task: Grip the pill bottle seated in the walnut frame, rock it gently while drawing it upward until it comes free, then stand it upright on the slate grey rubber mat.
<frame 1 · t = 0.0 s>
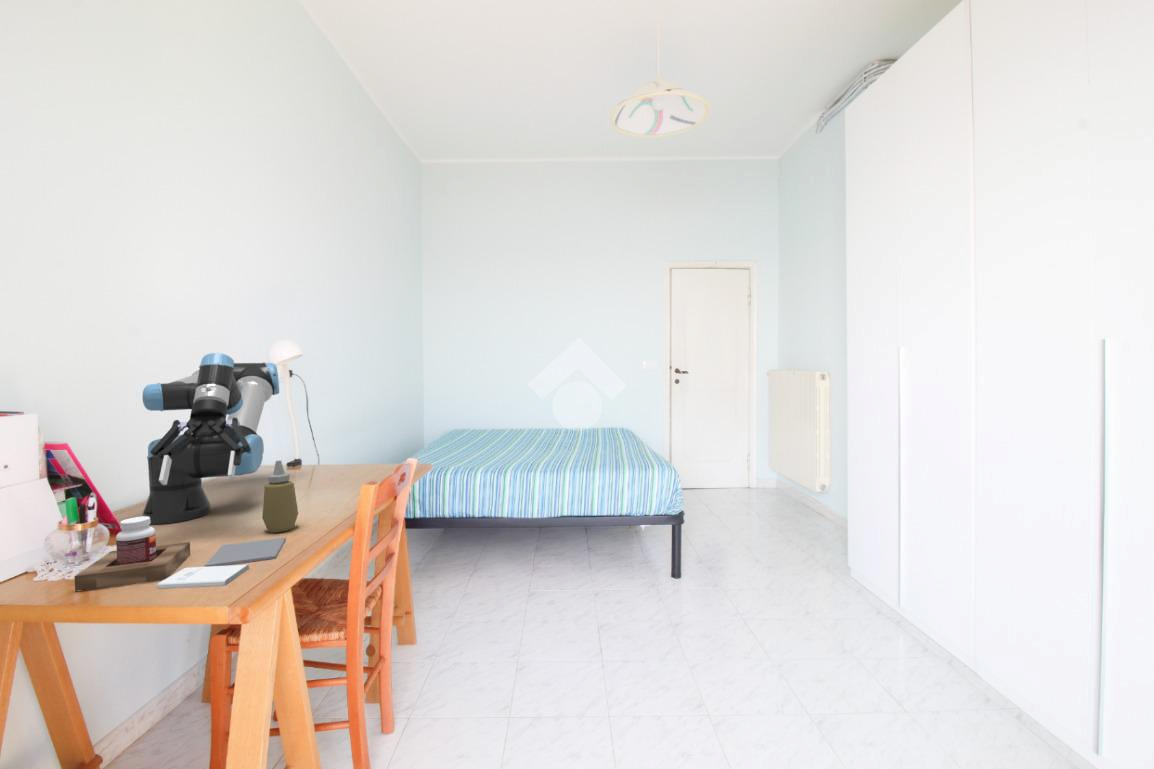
hand: (197, 479, 121), 15 cm above the table, tool tilted 35°, fingers open, 13 cm apart
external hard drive: (205, 581, 101), on the table
walnut frame: (137, 571, 104), on the table
pill bottle: (137, 572, 104), resting in walnut frame
grey mat: (248, 552, 114), on the table
squeeze bottle: (281, 530, 130), on the table
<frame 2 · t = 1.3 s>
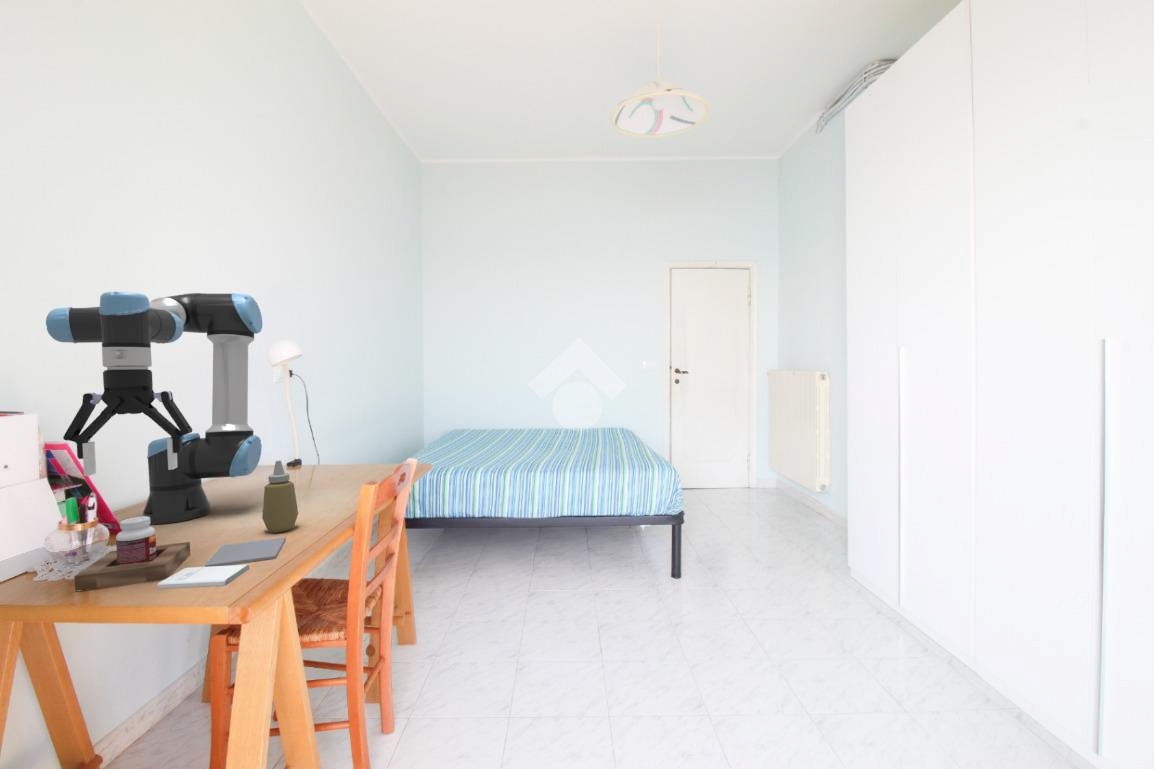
hand: (132, 471, 103), 21 cm above the table, tool pointing down, fingers open, 13 cm apart
nothing on the table moved.
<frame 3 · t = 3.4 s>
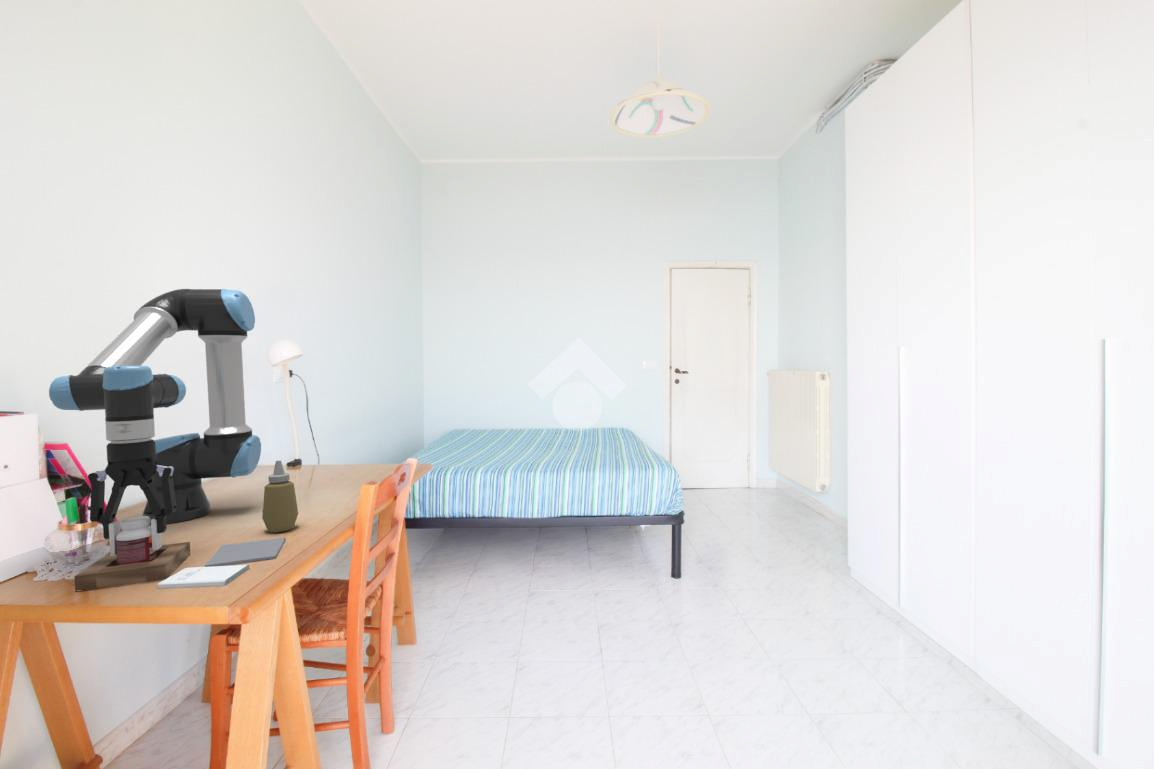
hand: (136, 550, 104), 4 cm above the table, tool pointing down, fingers closed on pill bottle, 6 cm apart
pill bottle: (137, 572, 104), resting in walnut frame, touching gripper
everything else where it was.
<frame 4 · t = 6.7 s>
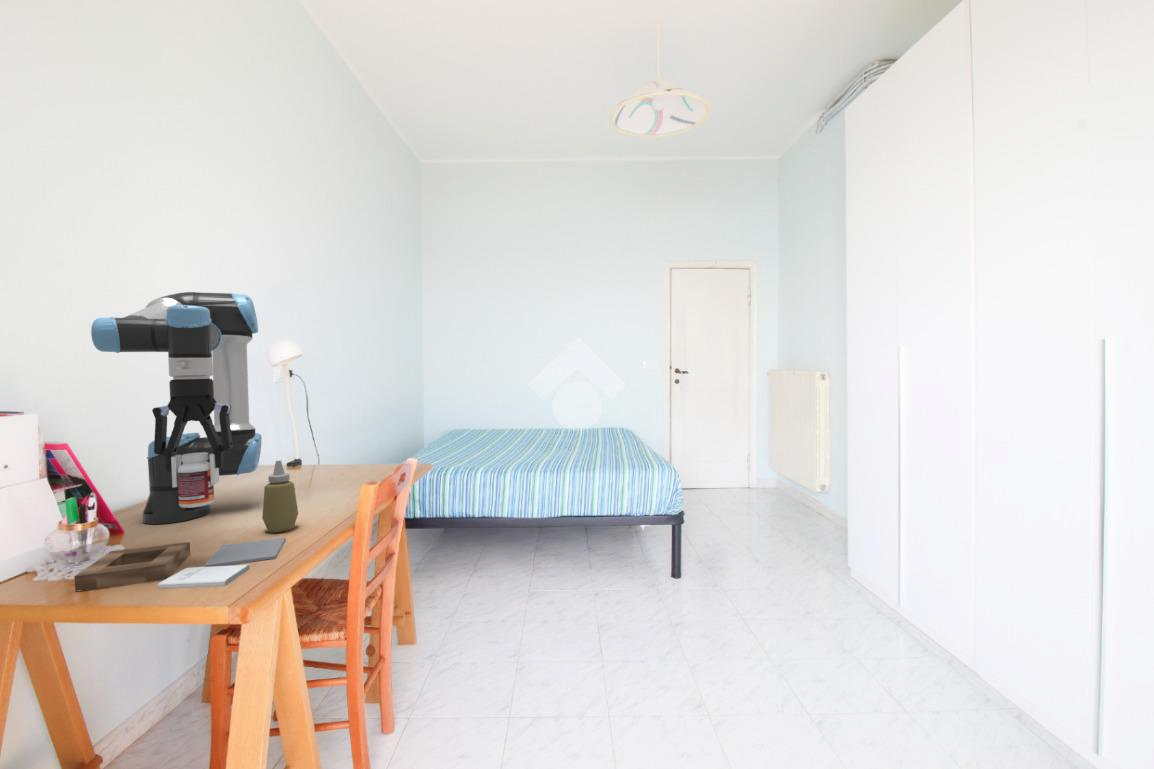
hand: (196, 484, 109), 17 cm above the table, tool pointing down, fingers closed on pill bottle, 6 cm apart
pill bottle: (197, 505, 109), point 12 cm above the table, touching gripper
everything else where it was.
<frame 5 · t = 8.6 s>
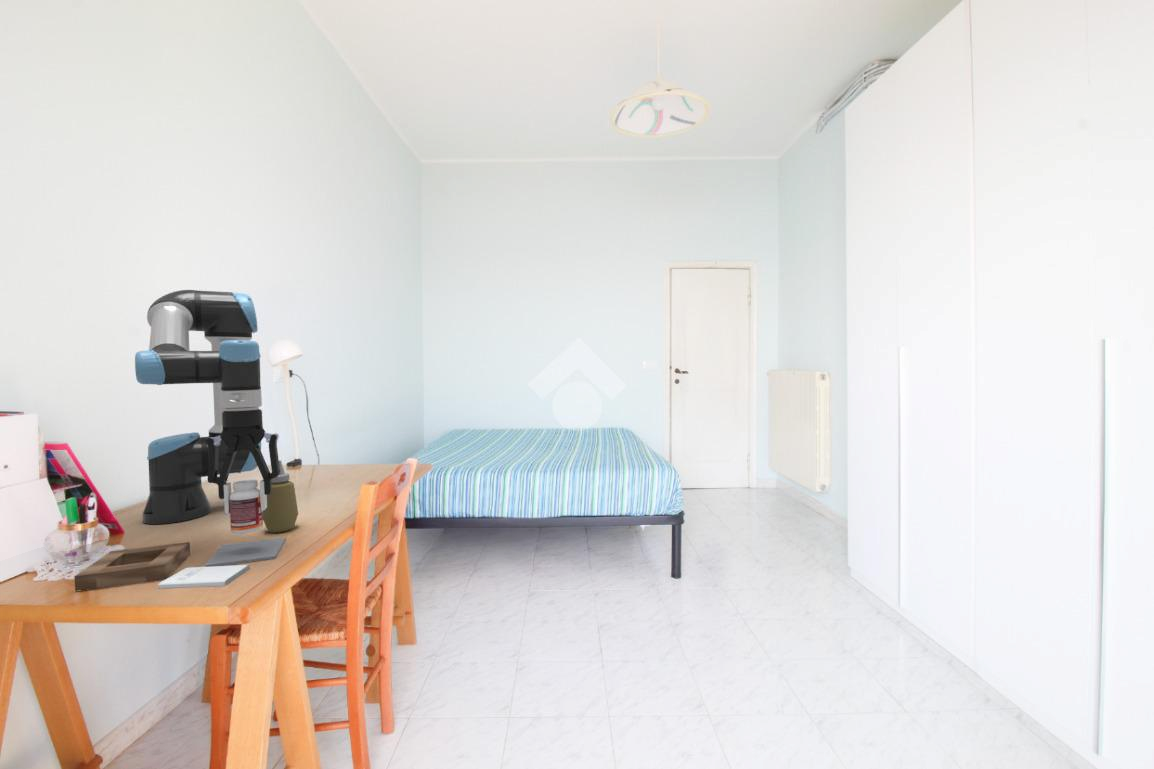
hand: (246, 510, 113), 10 cm above the table, tool pointing down, fingers closed on pill bottle, 6 cm apart
pill bottle: (247, 530, 114), point 5 cm above the table, touching gripper
everything else where it was.
when the fingers open (6 cm above the table, at t = 10.1 s): pill bottle stays where it is, resting on grey mat.
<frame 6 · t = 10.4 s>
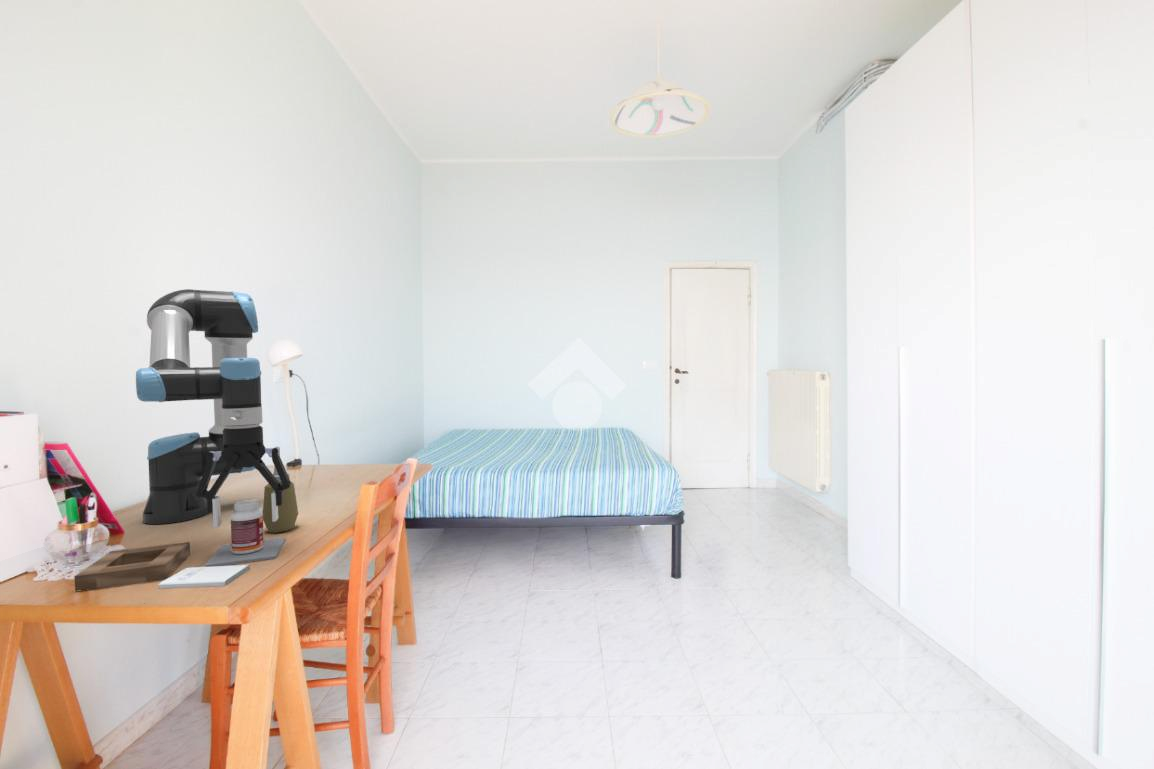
hand: (246, 523, 114), 7 cm above the table, tool pointing down, fingers open, 10 cm apart
pill bottle: (247, 551, 114), resting on grey mat
everything else where it was.
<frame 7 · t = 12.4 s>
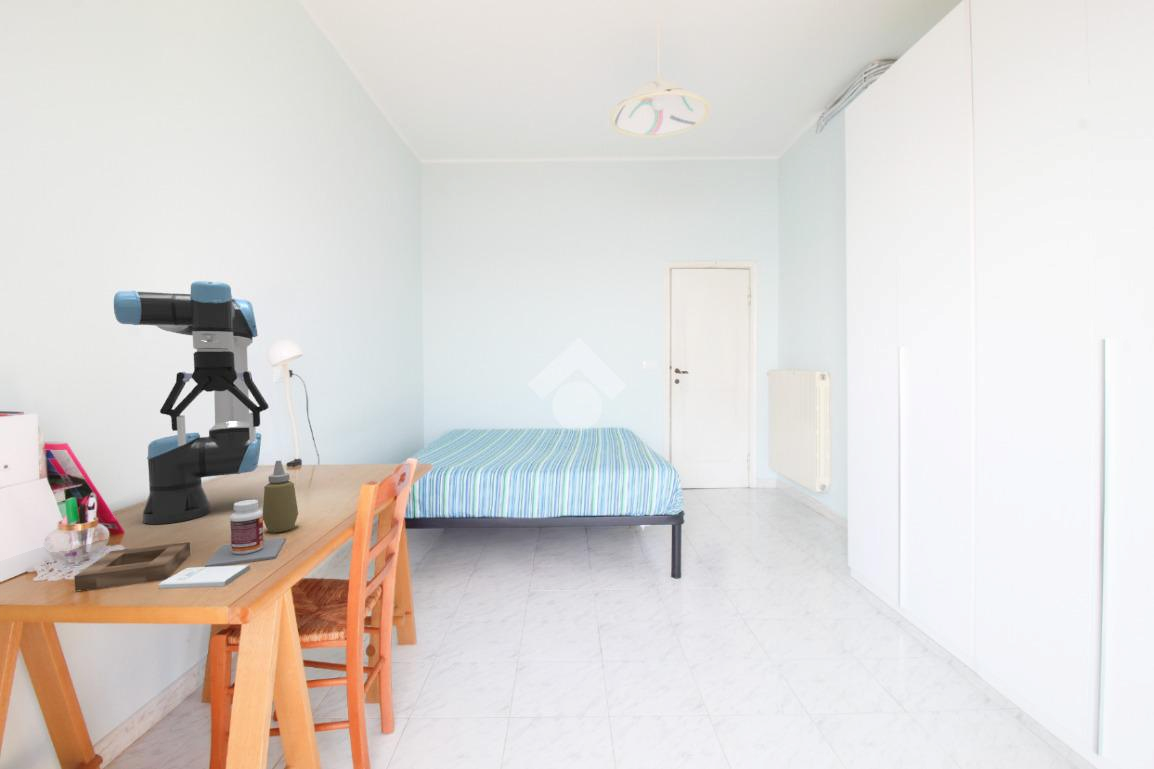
hand: (218, 442, 116), 25 cm above the table, tool pointing down, fingers open, 13 cm apart
nothing on the table moved.
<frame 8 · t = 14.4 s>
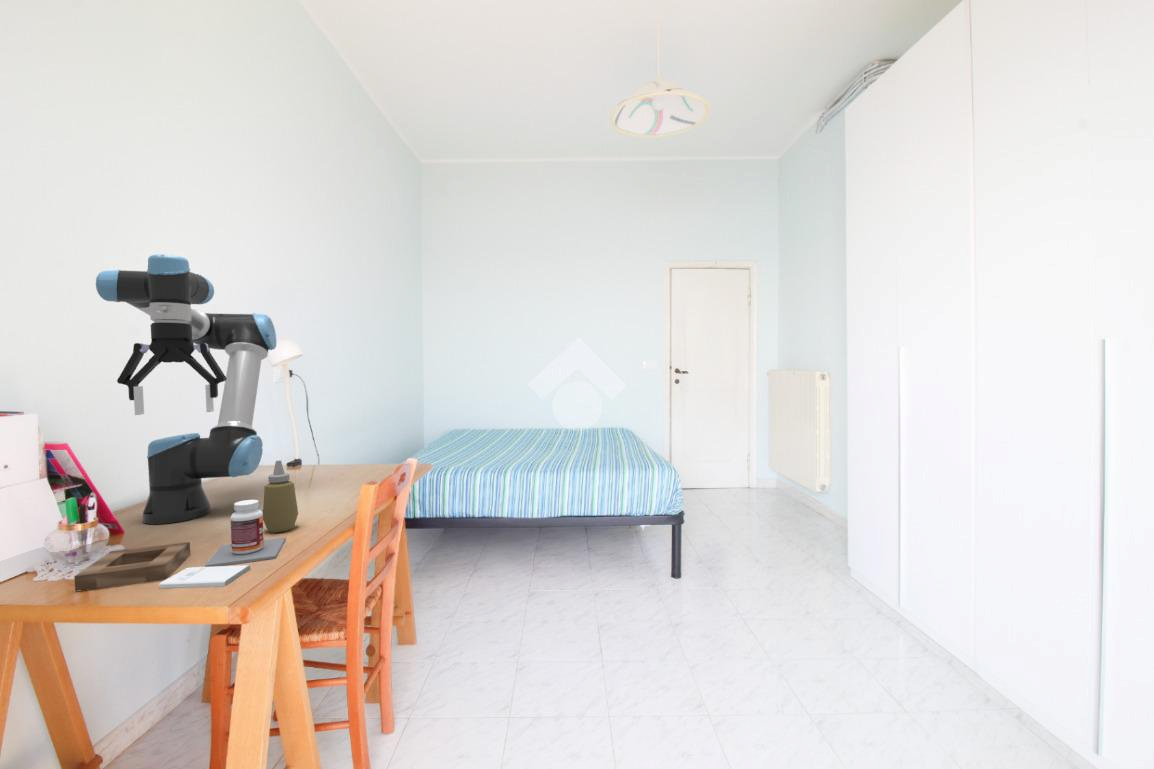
hand: (175, 413, 118), 32 cm above the table, tool pointing down, fingers open, 13 cm apart
nothing on the table moved.
at the end: pill bottle inside the target area on the grey mat (0.0 cm from its centre), point 0.4 cm above the grey mat's base; pill bottle tilted 0°; the gripper is holding nothing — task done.
